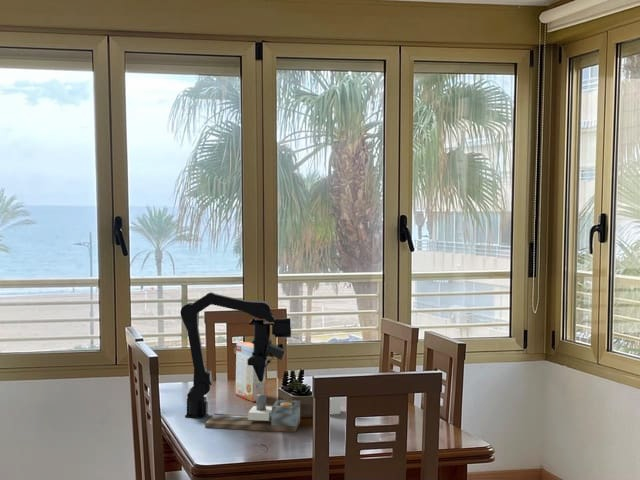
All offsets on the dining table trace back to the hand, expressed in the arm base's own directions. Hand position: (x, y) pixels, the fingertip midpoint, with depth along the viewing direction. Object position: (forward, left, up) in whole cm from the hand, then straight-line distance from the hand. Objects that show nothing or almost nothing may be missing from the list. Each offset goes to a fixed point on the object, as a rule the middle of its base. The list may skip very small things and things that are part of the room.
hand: (261, 381), depth 248 cm
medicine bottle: (+23, +8, -12) cm, 27 cm away
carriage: (+3, -12, -9) cm, 15 cm away
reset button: (+11, -12, -6) cm, 17 cm away
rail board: (0, -12, -12) cm, 17 cm away
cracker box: (-9, +25, -12) cm, 29 cm away
